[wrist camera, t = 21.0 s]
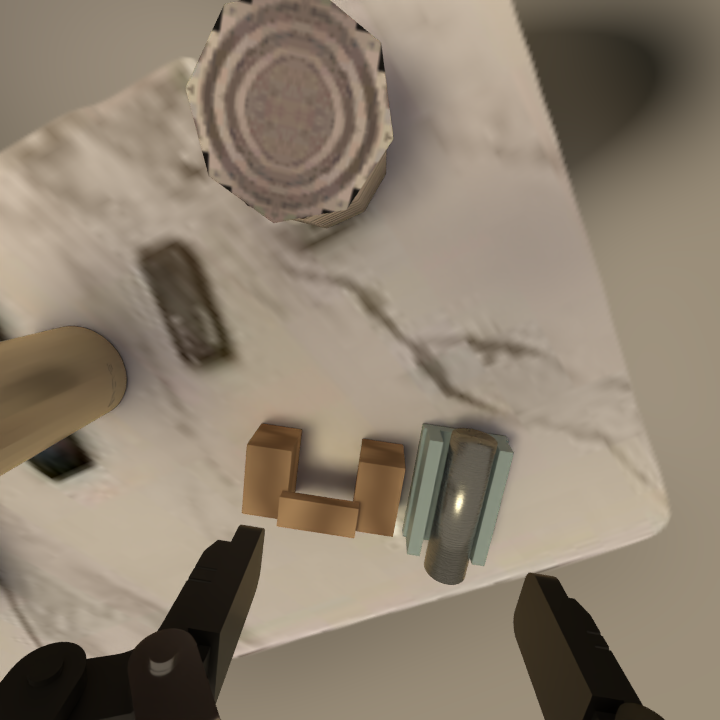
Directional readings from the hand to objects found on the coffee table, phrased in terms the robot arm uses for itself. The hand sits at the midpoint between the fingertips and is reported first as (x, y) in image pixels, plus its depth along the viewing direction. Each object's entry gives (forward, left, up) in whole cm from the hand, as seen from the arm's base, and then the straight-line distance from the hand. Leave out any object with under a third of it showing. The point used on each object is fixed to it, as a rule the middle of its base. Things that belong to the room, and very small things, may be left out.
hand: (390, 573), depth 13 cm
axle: (+9, -12, -24) cm, 28 cm away
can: (-8, +16, -27) cm, 32 cm away
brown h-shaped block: (-4, -12, -27) cm, 30 cm away
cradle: (+9, -12, -27) cm, 31 cm away
